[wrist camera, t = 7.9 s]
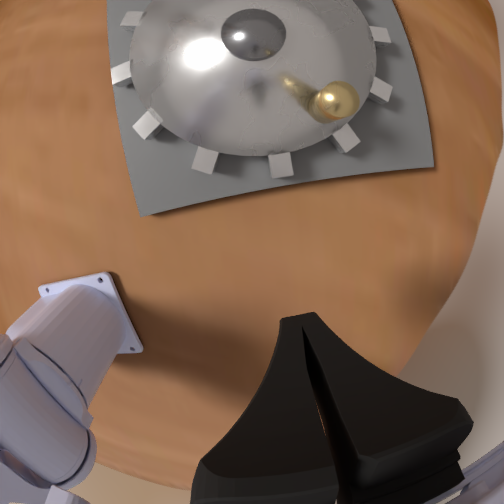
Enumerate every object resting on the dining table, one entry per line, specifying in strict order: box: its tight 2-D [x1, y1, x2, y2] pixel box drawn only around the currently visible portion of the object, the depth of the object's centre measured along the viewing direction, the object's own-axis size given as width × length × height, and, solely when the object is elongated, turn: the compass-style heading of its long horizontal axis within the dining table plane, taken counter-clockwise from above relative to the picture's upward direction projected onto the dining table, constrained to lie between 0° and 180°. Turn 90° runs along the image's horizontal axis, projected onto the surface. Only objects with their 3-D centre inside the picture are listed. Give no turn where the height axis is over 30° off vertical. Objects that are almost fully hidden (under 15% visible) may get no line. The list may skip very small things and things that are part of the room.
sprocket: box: [111, 0, 393, 179], centre depth 11 cm, size 18×18×4 cm
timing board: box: [107, 0, 434, 217], centre depth 13 cm, size 21×21×1 cm
